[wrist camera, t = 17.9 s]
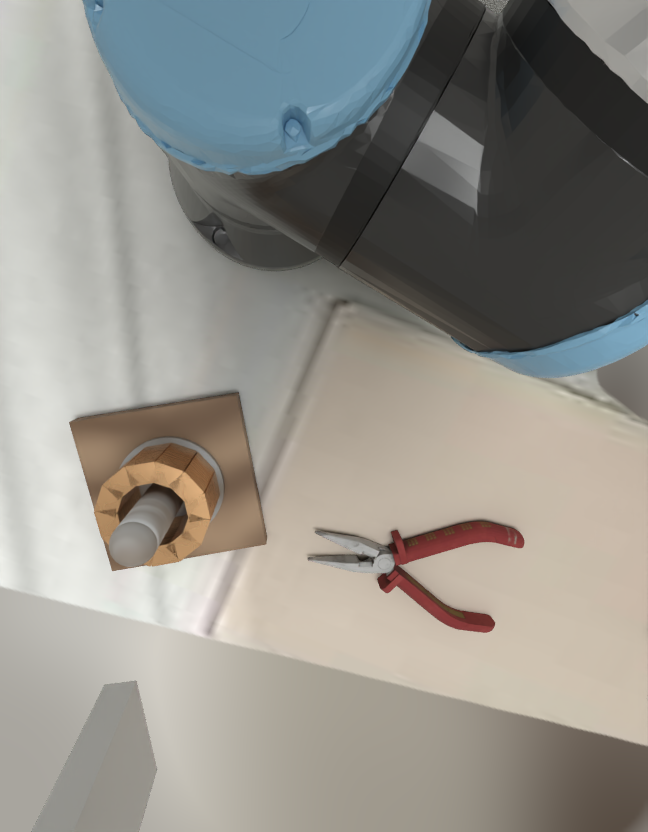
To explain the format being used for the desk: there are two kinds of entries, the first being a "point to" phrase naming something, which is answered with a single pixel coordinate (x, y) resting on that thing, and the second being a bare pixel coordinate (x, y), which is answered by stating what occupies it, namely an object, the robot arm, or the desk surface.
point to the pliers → (416, 549)
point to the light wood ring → (170, 470)
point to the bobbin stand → (158, 506)
